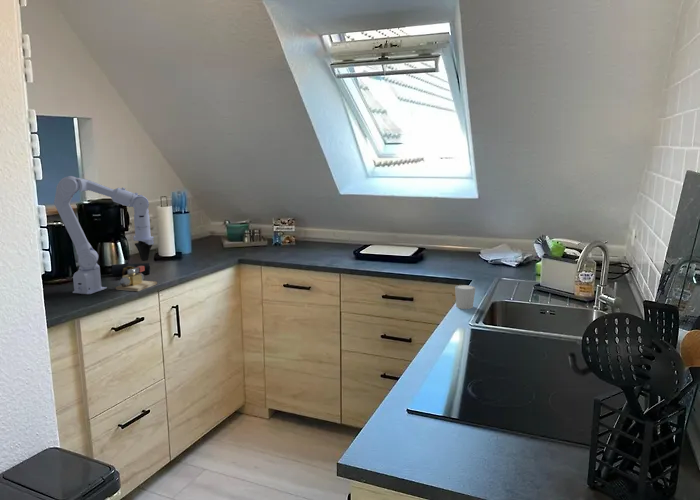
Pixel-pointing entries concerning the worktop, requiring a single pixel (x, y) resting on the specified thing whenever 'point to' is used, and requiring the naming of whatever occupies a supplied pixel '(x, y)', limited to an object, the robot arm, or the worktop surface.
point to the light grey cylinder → (464, 296)
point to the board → (137, 286)
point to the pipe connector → (123, 268)
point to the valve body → (131, 279)
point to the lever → (136, 270)
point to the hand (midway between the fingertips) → (144, 260)
